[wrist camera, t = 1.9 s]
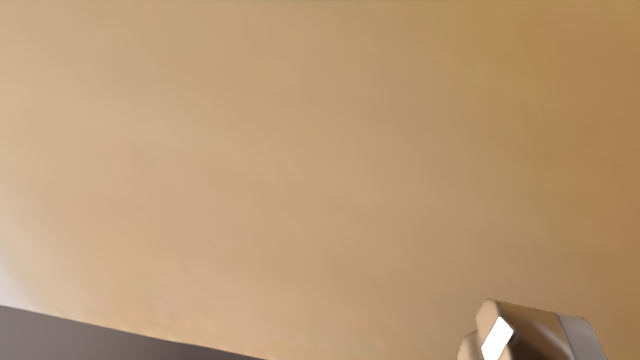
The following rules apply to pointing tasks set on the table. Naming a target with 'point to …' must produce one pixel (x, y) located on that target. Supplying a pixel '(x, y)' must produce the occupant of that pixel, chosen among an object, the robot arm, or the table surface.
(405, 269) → the table surface
